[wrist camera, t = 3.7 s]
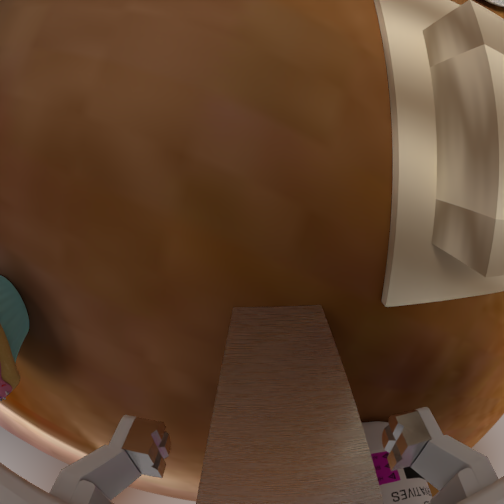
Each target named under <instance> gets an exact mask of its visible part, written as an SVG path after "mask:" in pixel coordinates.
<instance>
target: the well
mask: <svg viewBox="0 0 504 504" xmlns="http://www.w3.org/2000/svg"><path fill="white" fill-rule="evenodd" d="M374 3H375V7H376V11H377V16H378V20H379V25H380V30H381V36H382V41H383V47H384V53H385V60H386V67H387V75H388V84H389V94H390V106H391V121H392V147H393V181H392V208H391V224H390V236H389V247H388V256H387V265H386V273H385V280H384V287H383V293H382V300H381V302H382V303H383V304H384V306H385V307H392V306H402V305H411V304H420V303H429V302H437V301H444V300H452V299H459V298H466V297H472V296H478V295H484V294H490V293H496V292H502V291H504V19H503V18H501V17H499V16H498V15H496V14H495V13H493V12H491V11H490V10H488V9H486V8H484V7H483V6H481V5H479V4H477V3H475V2H474V1H472V0H469V1H467V2H465V3H464V4H462V5H459V4H457V3H454V2H452V1H450V0H374Z"/></svg>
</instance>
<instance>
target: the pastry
mask: <svg viewBox="0 0 504 504" xmlns="http://www.w3.org/2000/svg"><path fill="white" fill-rule="evenodd" d="M485 1H487V2H489V3H491V4H494V5H497V6H500V7H504V0H485Z"/></svg>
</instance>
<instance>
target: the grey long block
mask: <svg viewBox="0 0 504 504" xmlns="http://www.w3.org/2000/svg"><path fill="white" fill-rule="evenodd" d="M196 504H384V502H383V498H382V494H381V490H380V486H379V482H378V479H377V475H376V471H375V467H374V464H373V460H372V457H371V453H370V450H369V446H368V443H367V440H366V436H365V433H364V430H363V426H362V423H361V420H360V417H359V413H358V410H357V407H356V404H355V401H354V398H353V395H352V391H351V388H350V385H349V382H348V379H347V376H346V373H345V370H344V367H343V365H342V362H341V359H340V356H339V353H338V350H337V347H336V344H335V342H334V339H333V336H332V333H331V330H330V328H329V325H328V322H327V319H326V317H325V314H324V311H323V308H322V306H321V305H307V306H280V307H233V310H232V316H231V321H230V326H229V331H228V336H227V341H226V346H225V351H224V357H223V362H222V367H221V372H220V377H219V382H218V388H217V393H216V398H215V403H214V409H213V414H212V419H211V425H210V430H209V435H208V441H207V446H206V452H205V457H204V462H203V468H202V473H201V479H200V484H199V490H198V495H197V501H196Z"/></svg>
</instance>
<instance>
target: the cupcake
mask: <svg viewBox="0 0 504 504" xmlns="http://www.w3.org/2000/svg"><path fill="white" fill-rule="evenodd" d="M28 331H29V317H28V313H27V310H26V307H25V304H24V302H23V300H22V298H21V296H20V295H19V293H18V291H17V290H16V288H15V287H14V286H13V285H12V283H11V282H10V281H9V280H7V279H6V278H5V277H3V276H1V275H0V401H2V399H5V400H6V398H5V397H6V396H7V395H9V393H10V392H11V391H12V390H13V389H14V388H15V387H16V386H17V385H18V383H19V381H20V374H19V372H18V370H17V368H16V365H15V362H16V358H17V355H18V352H19V350H20V347H21V345H22V343H23V341H24V339H25V337H26V335H27V333H28Z"/></svg>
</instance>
